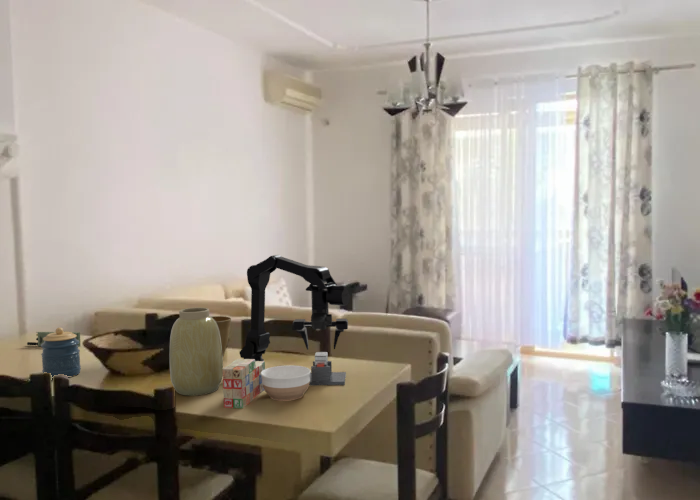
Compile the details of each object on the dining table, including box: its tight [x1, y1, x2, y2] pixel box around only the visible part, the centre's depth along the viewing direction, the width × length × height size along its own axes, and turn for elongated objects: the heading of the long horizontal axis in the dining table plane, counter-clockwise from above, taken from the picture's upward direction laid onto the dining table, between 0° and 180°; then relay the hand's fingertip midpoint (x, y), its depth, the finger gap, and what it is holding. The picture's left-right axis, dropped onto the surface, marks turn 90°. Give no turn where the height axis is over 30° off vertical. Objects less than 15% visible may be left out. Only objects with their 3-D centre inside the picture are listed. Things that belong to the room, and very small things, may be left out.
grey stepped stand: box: [309, 360, 347, 386], centre depth 224 cm, size 16×12×7 cm
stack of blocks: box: [222, 358, 266, 409], centre depth 207 cm, size 21×6×12 cm, turn 168°
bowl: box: [261, 364, 311, 402], centre depth 208 cm, size 16×16×8 cm
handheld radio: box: [26, 331, 81, 348], centre depth 288 cm, size 7×3×25 cm
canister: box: [41, 327, 82, 377], centre depth 239 cm, size 13×13×18 cm
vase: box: [168, 307, 224, 396], centre depth 215 cm, size 17×17×27 cm
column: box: [314, 351, 329, 366], centre depth 223 cm, size 4×5×8 cm
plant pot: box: [210, 315, 232, 357], centre depth 259 cm, size 15×15×16 cm
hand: (321, 349), depth 222 cm, fingers open, 9 cm apart
